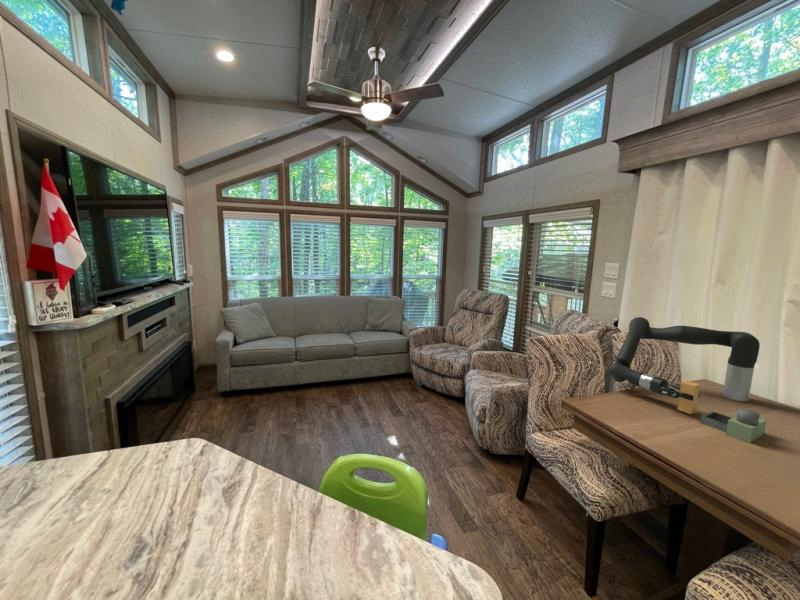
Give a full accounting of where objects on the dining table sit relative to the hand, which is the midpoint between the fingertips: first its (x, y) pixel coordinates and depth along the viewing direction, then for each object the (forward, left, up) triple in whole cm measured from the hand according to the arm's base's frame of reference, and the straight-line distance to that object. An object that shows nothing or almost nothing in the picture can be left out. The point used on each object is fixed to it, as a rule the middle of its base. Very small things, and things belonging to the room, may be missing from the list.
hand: (696, 397), depth 148 cm
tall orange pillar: (-1, -2, -8) cm, 8 cm away
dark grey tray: (+3, +9, -9) cm, 13 cm away
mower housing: (+6, +16, -9) cm, 19 cm away
